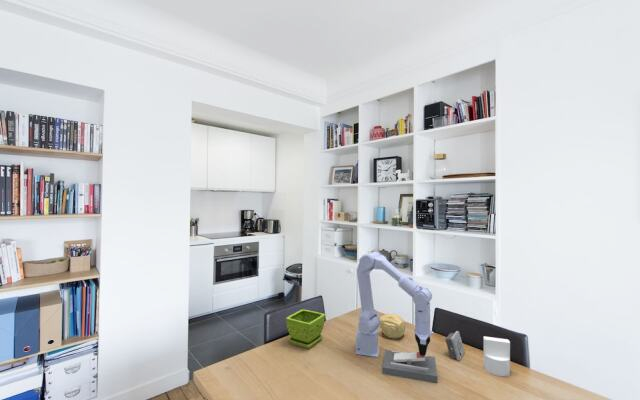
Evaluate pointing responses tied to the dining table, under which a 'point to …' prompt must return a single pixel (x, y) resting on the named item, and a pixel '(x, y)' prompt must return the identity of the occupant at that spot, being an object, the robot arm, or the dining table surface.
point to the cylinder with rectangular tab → (497, 356)
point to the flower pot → (305, 327)
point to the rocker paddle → (408, 357)
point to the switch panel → (410, 367)
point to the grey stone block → (455, 345)
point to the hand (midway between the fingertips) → (422, 354)
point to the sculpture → (392, 325)
